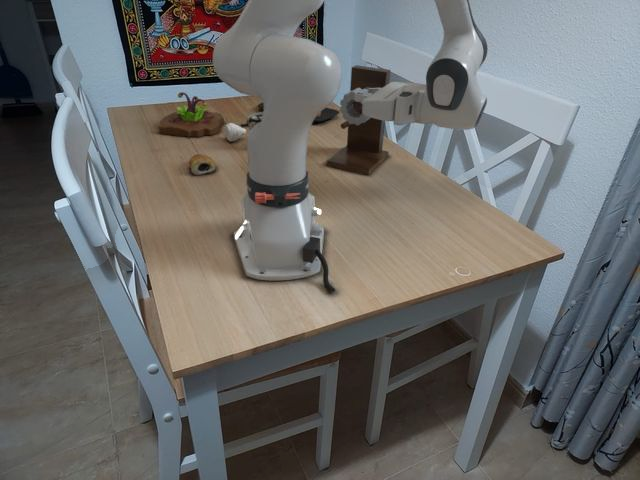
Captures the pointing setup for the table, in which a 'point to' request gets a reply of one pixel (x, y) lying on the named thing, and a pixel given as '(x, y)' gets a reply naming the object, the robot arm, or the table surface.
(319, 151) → the table surface
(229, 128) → the white cream swirl
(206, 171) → the pastry
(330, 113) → the sushi plate
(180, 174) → the table surface
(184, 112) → the plant
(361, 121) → the grey knurled ring
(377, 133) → the stand
